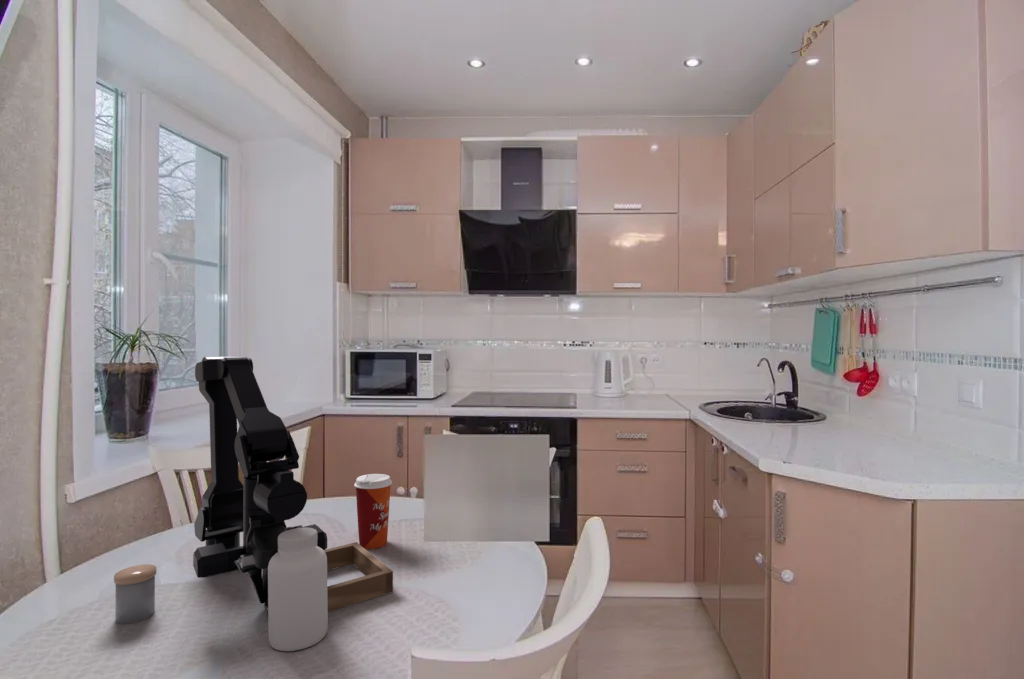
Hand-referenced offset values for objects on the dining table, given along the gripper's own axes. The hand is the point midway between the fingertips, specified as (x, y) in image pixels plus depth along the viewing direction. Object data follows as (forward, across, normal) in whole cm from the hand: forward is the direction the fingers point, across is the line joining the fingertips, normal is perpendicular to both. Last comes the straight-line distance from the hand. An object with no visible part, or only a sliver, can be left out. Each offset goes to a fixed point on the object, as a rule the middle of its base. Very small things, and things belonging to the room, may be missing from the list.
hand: (262, 602), depth 85 cm
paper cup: (+1, +25, +15) cm, 29 cm away
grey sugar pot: (+1, -16, +10) cm, 19 cm away
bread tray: (+1, +11, +1) cm, 11 cm away
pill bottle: (+1, +2, -12) cm, 12 cm away
